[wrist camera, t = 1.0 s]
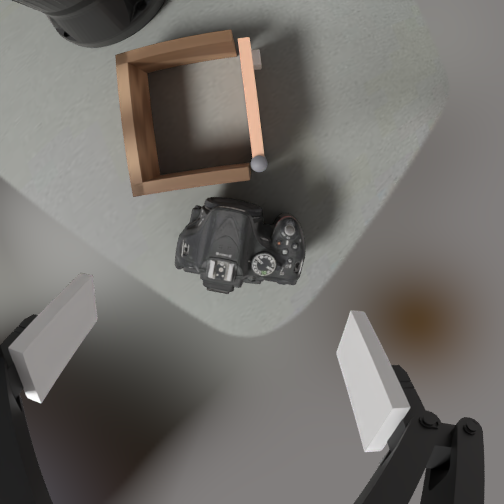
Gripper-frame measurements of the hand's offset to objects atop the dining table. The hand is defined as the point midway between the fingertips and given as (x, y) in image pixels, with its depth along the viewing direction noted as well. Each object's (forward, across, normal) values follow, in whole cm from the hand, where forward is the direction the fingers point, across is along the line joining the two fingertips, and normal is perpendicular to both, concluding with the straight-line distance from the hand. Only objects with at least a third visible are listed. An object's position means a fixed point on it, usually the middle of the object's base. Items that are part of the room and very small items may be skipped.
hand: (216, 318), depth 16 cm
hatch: (+22, 0, +11) cm, 24 cm away
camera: (+22, 0, -3) cm, 22 cm away
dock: (+22, -6, +10) cm, 25 cm away
